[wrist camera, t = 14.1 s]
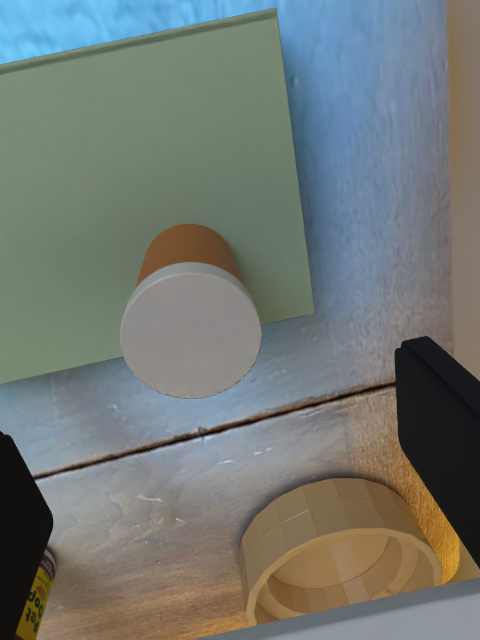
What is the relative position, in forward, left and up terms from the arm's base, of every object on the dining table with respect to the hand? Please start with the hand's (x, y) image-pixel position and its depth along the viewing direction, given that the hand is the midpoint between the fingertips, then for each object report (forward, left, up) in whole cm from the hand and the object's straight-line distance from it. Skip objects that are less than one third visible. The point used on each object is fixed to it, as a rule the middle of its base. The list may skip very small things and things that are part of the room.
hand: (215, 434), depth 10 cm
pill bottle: (0, 0, -13) cm, 13 cm away
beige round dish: (-5, +25, -15) cm, 30 cm away
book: (+4, -3, -15) cm, 16 cm away
